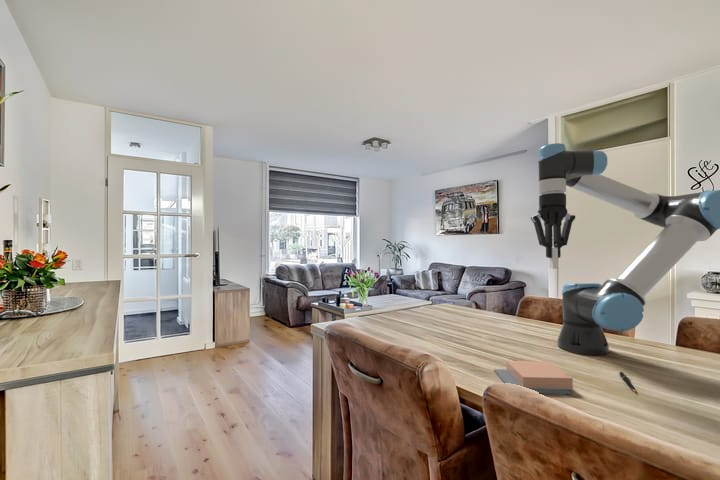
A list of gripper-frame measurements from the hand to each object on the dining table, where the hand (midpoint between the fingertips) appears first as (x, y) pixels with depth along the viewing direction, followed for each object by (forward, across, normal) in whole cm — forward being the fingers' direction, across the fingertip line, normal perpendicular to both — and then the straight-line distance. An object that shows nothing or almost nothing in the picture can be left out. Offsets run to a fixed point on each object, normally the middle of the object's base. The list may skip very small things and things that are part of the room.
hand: (553, 268), depth 109 cm
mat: (+29, +15, +17) cm, 37 cm away
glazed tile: (+27, +6, +17) cm, 33 cm away
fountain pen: (+30, -11, +16) cm, 36 cm away
